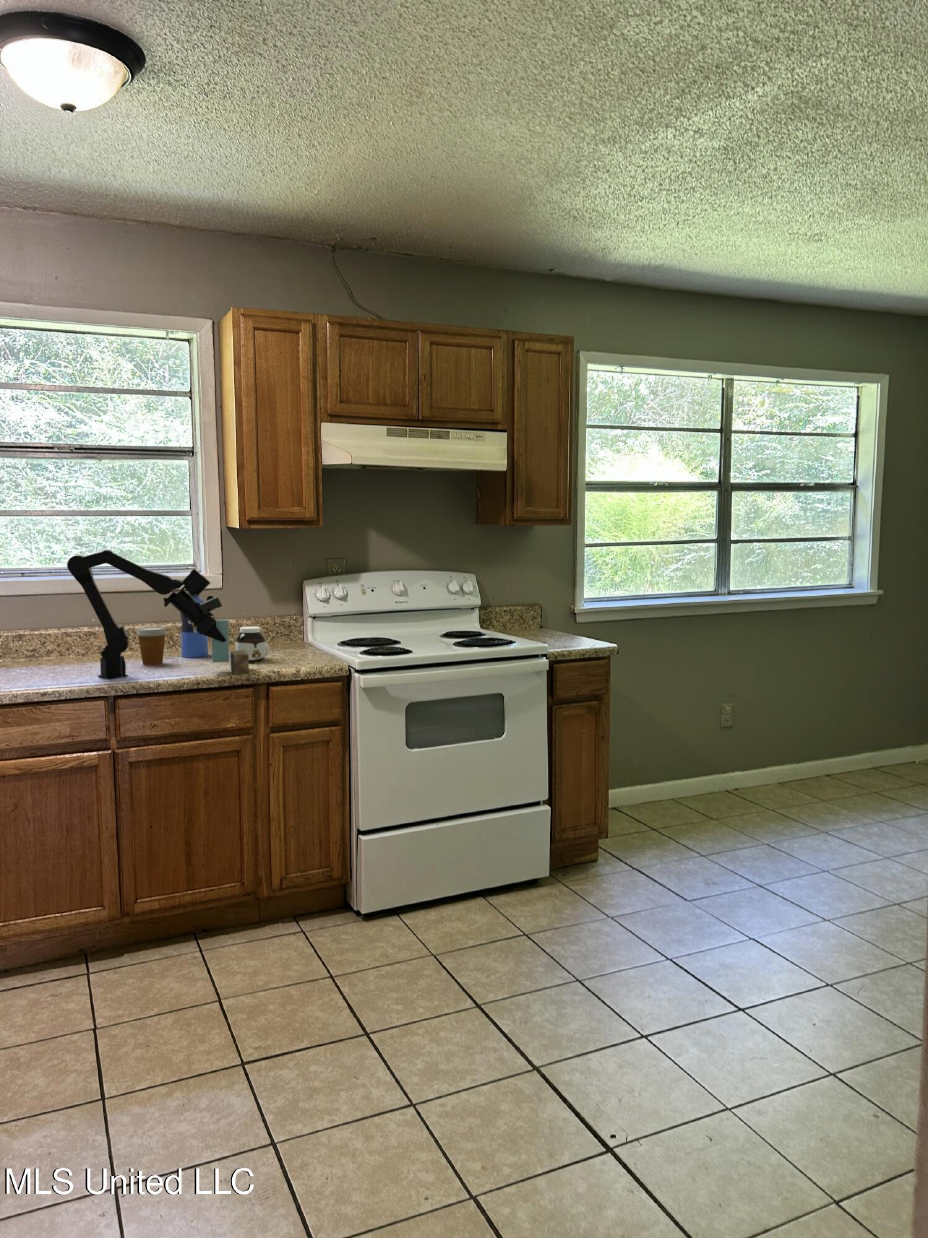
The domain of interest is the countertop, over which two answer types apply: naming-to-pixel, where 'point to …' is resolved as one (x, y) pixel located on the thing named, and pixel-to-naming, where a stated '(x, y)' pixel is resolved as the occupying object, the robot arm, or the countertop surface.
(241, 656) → the block
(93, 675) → the countertop surface
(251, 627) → the spread jar
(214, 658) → the teal block
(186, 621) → the water bottle
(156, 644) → the disposable coffee cup
